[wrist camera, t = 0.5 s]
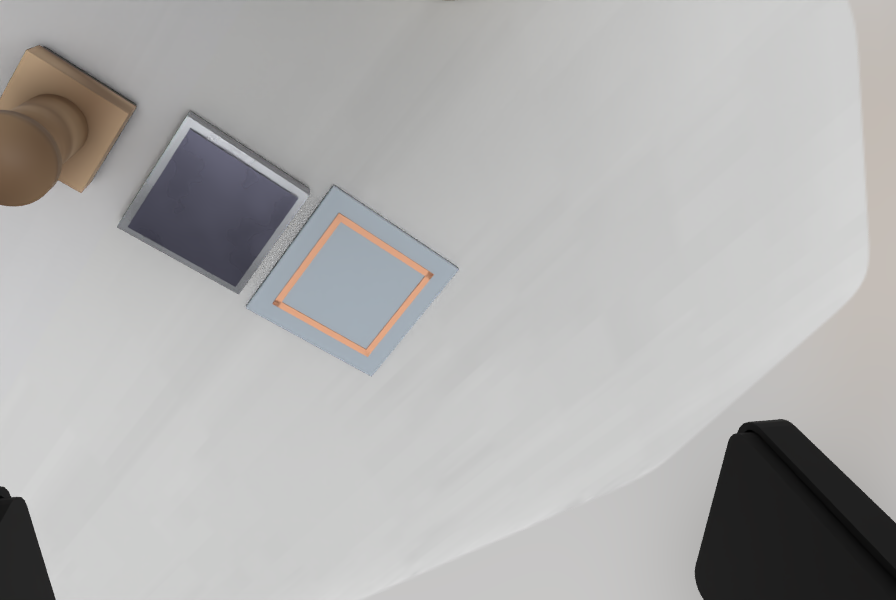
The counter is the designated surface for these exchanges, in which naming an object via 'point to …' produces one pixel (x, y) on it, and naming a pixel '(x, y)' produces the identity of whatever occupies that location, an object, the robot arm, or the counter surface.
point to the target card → (351, 283)
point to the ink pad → (214, 204)
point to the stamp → (54, 127)
